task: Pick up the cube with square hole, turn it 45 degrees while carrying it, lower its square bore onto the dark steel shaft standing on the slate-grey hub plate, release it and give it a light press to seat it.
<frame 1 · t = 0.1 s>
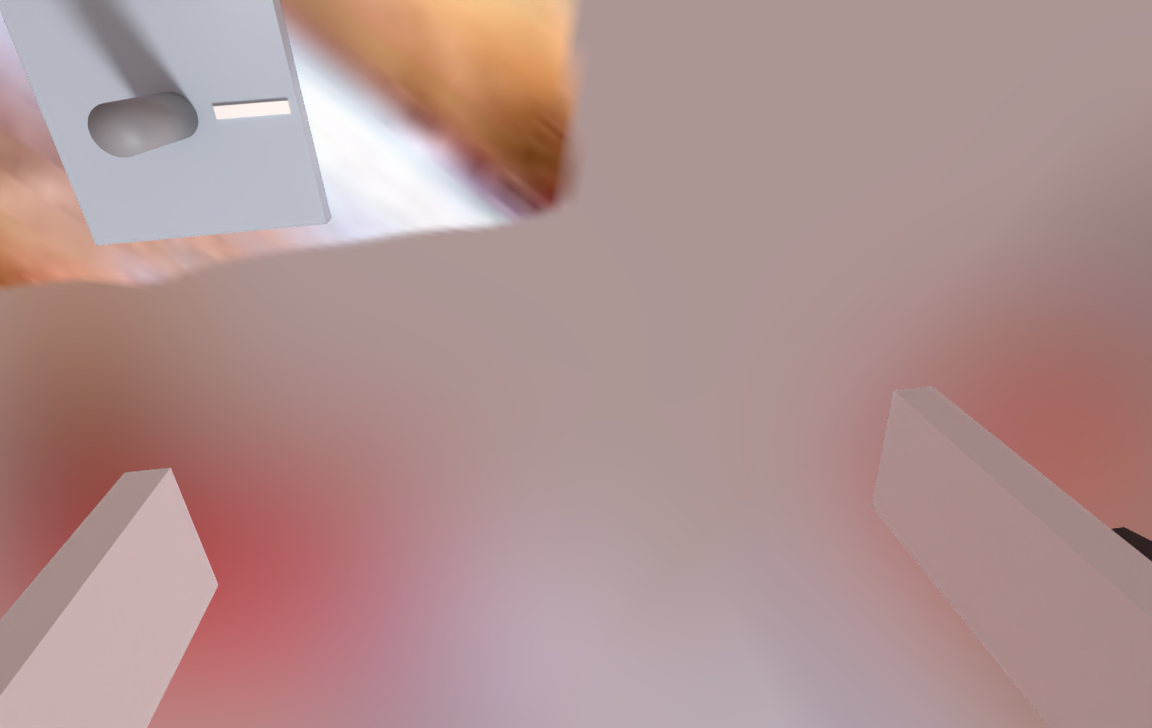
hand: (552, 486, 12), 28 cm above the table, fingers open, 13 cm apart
hub plate: (184, 113, 34), on the table
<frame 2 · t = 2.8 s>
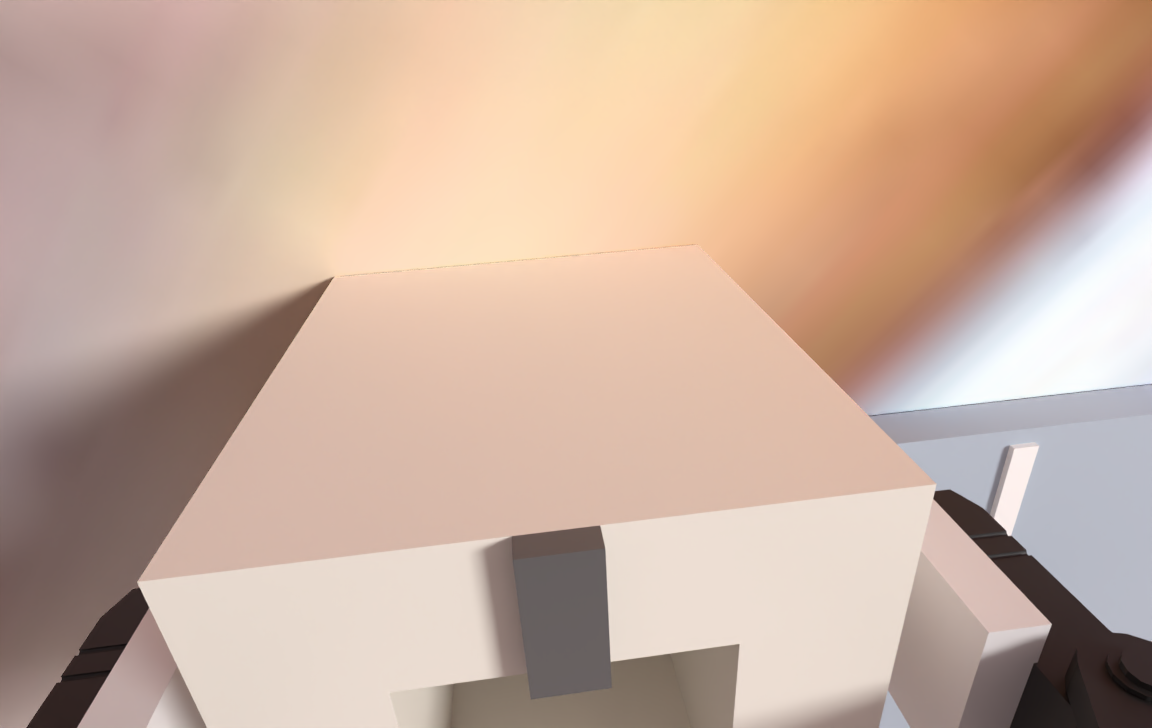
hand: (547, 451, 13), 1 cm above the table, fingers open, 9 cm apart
hub plate: (942, 585, 19), on the table
cube with square hole: (535, 416, 15), on the table
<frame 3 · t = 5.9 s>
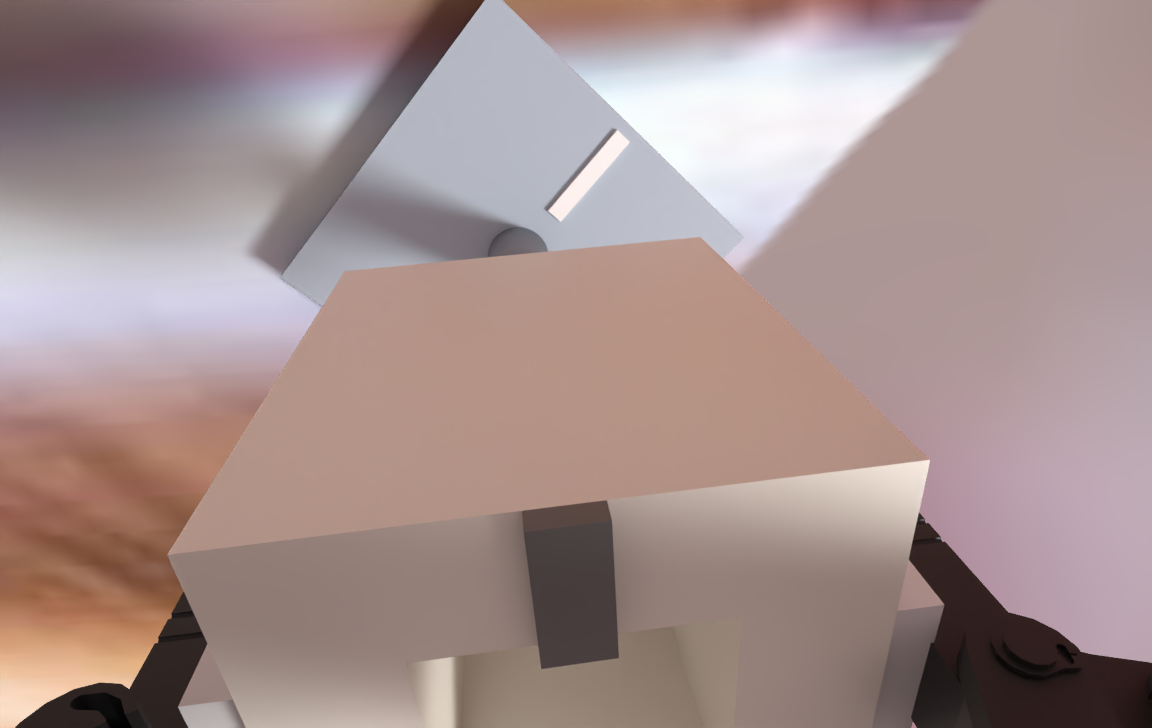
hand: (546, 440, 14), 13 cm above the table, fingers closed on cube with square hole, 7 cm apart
hub plate: (517, 247, 25), on the table
cube with square hole: (541, 407, 15), point 12 cm above the table, touching gripper
when the fingers open (4 cm above the table, at t = 7.9 s): cube with square hole stays where it is, resting on hub plate.
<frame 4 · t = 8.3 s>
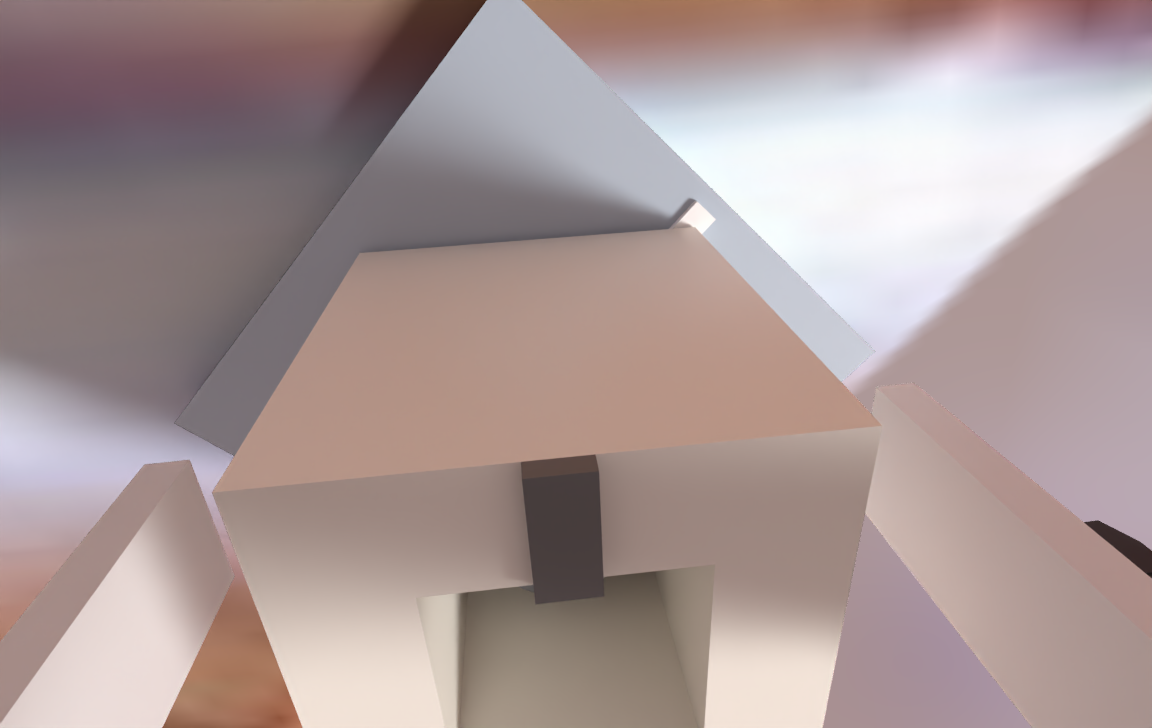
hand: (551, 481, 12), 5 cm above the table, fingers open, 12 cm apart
hub plate: (536, 363, 17), on the table
cube with square hole: (542, 385, 16), point 1 cm above the table, touching hub plate
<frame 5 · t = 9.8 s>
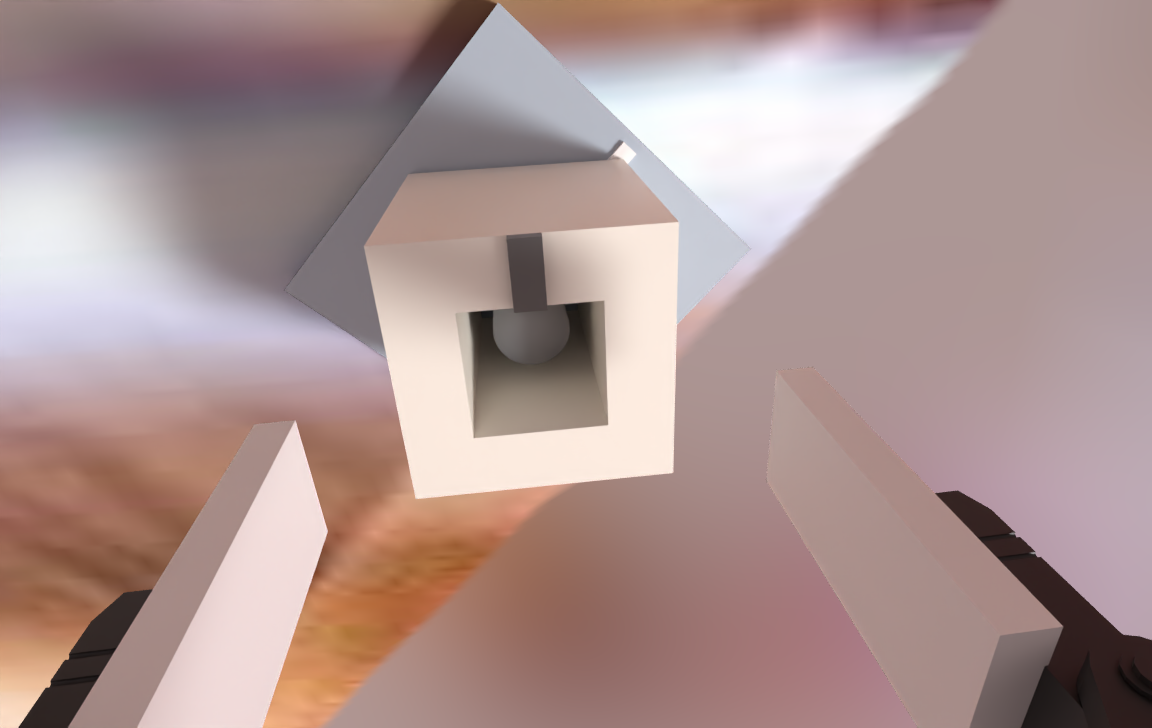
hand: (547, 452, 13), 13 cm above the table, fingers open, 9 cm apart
hub plate: (522, 259, 25), on the table
cube with square hole: (525, 268, 24), point 1 cm above the table, touching hub plate
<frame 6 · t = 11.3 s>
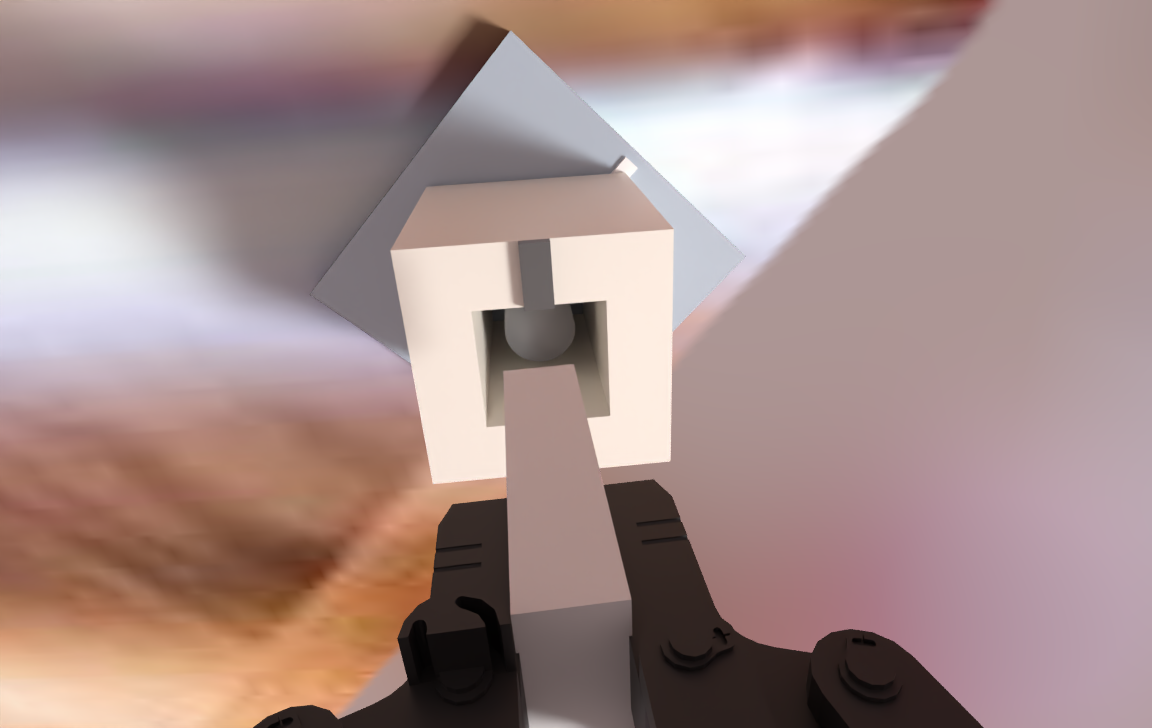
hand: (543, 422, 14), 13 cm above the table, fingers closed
hub plate: (531, 266, 27), on the table
cube with square hole: (534, 274, 25), point 1 cm above the table, touching hub plate
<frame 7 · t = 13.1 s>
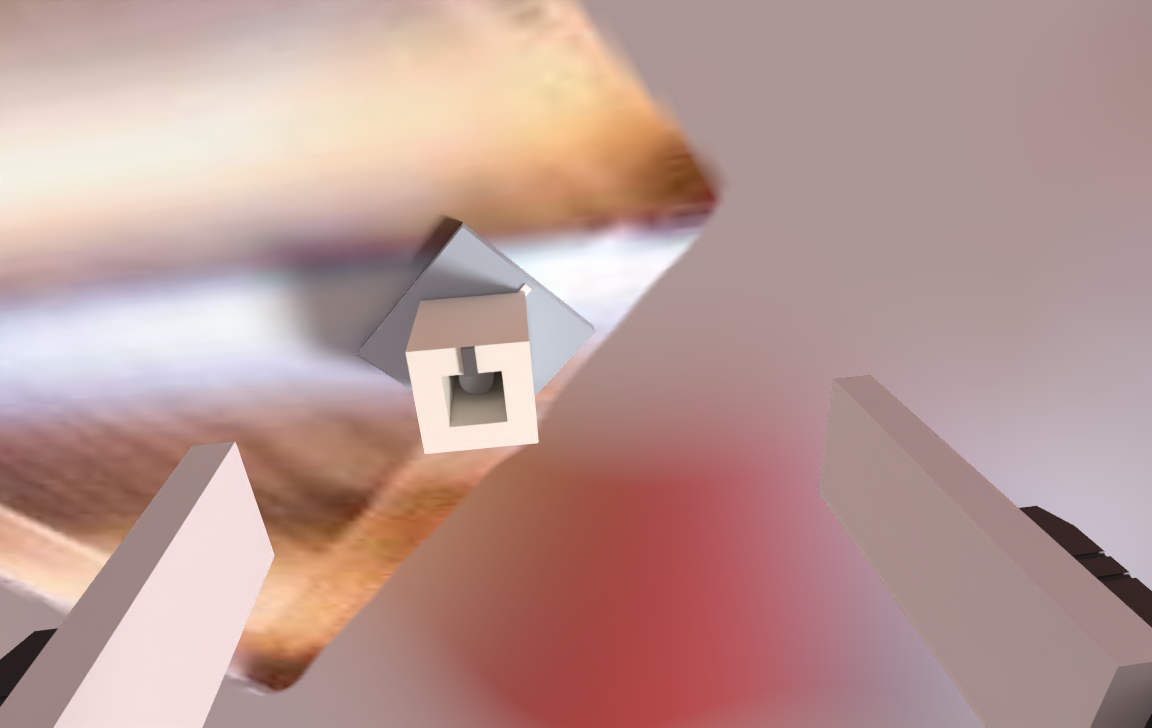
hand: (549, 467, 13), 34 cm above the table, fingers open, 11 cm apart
hub plate: (478, 336, 48), on the table
cube with square hole: (479, 343, 47), point 1 cm above the table, touching hub plate
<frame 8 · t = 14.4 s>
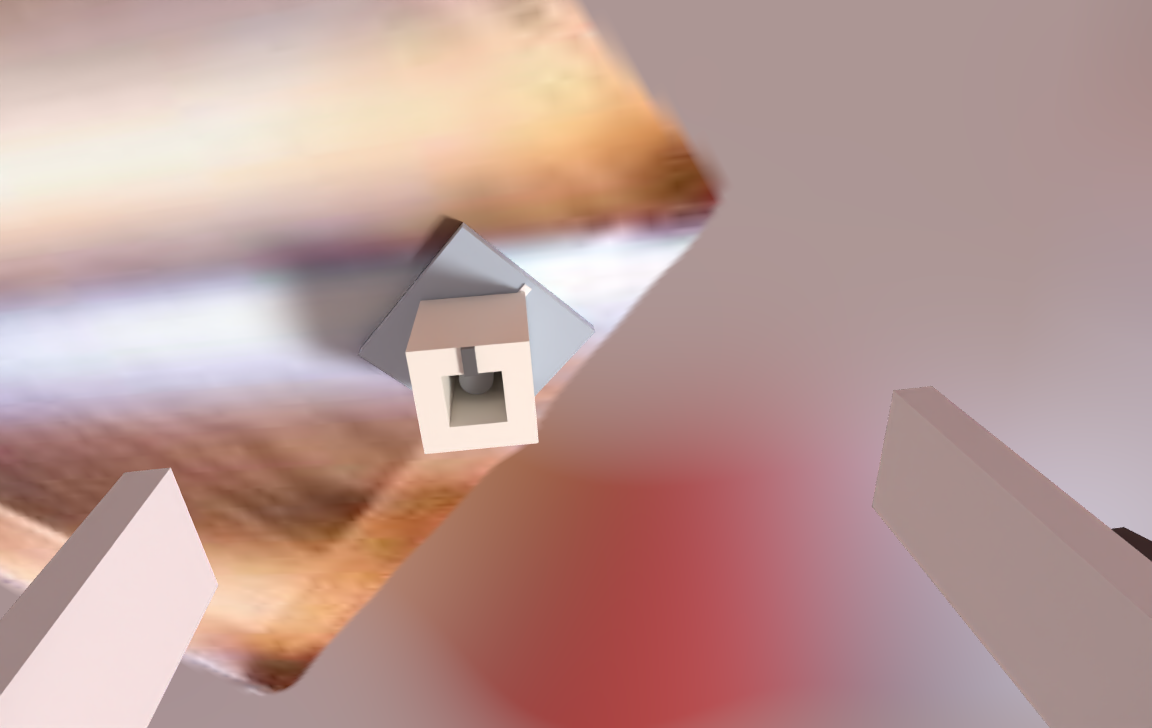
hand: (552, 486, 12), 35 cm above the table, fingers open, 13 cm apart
hub plate: (478, 336, 48), on the table
cube with square hole: (479, 343, 47), point 1 cm above the table, touching hub plate
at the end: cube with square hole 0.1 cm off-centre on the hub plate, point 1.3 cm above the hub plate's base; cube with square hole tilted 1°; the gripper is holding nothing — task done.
